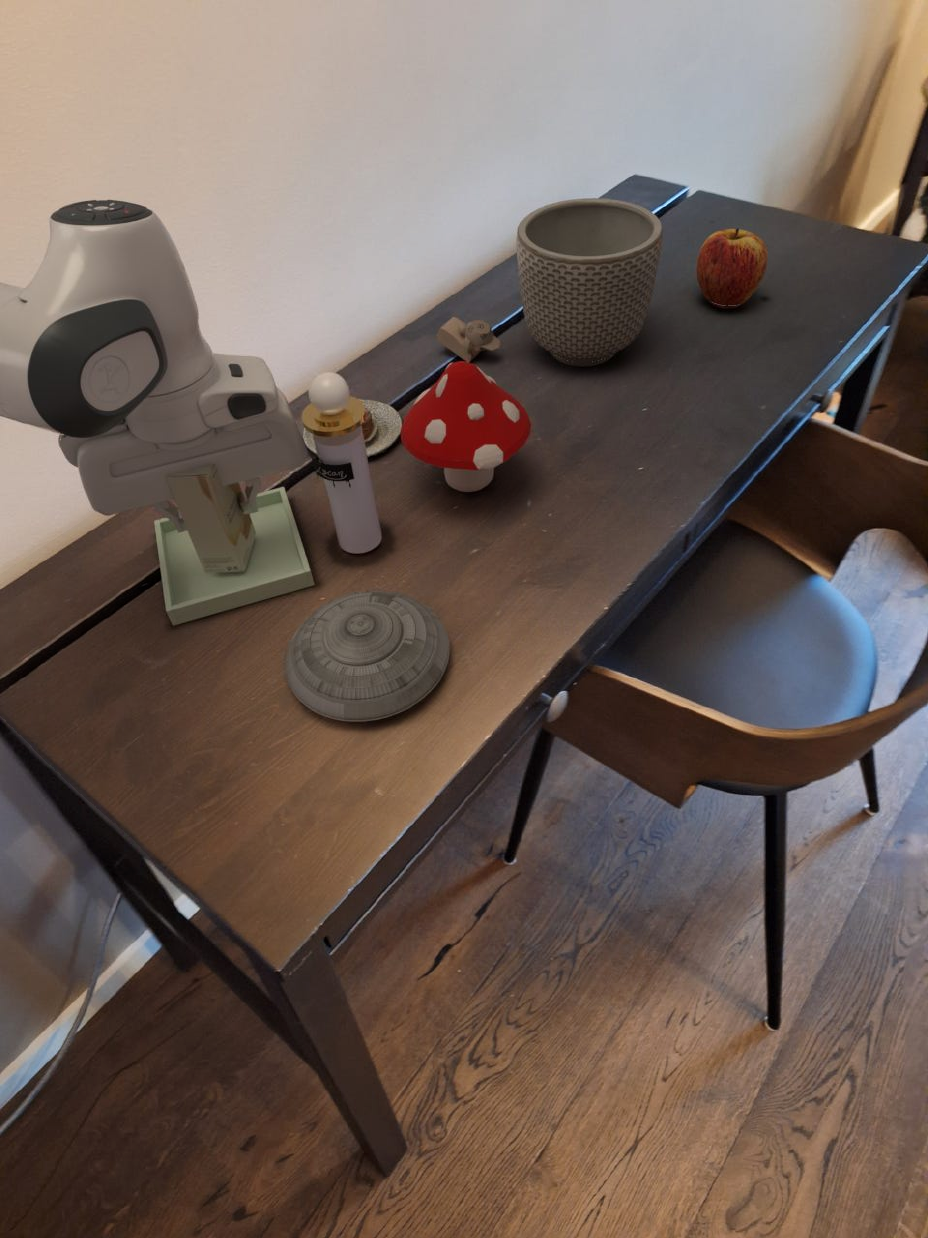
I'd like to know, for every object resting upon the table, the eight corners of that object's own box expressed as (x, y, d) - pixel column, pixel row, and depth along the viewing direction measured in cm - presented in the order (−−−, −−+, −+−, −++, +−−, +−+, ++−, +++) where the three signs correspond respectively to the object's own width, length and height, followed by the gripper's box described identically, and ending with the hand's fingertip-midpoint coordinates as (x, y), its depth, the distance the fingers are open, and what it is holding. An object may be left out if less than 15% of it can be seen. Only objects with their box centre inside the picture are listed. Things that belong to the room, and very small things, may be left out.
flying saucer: (367, 580, 82) (358, 540, 78) (484, 649, 75) (481, 609, 71) (254, 676, 74) (238, 637, 70) (372, 761, 67) (361, 724, 63)
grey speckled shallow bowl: (323, 404, 103) (315, 372, 100) (414, 410, 101) (409, 377, 98) (291, 462, 96) (282, 429, 92) (388, 470, 93) (383, 436, 90)
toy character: (479, 381, 108) (494, 348, 103) (431, 347, 109) (443, 312, 104) (495, 366, 110) (509, 333, 105) (448, 332, 111) (460, 298, 106)
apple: (679, 308, 113) (690, 236, 106) (706, 281, 118) (718, 210, 111) (742, 324, 110) (757, 250, 102) (767, 295, 114) (783, 222, 107)
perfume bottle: (349, 520, 88) (312, 353, 73) (397, 531, 86) (369, 362, 71) (324, 555, 84) (280, 387, 70) (373, 568, 83) (339, 398, 68)
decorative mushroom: (447, 432, 97) (435, 315, 86) (552, 460, 93) (555, 340, 81) (385, 503, 89) (364, 383, 78) (497, 538, 85) (492, 415, 73)
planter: (650, 319, 112) (664, 197, 100) (647, 389, 101) (662, 261, 89) (526, 315, 115) (525, 196, 103) (509, 383, 104) (506, 258, 92)
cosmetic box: (245, 573, 82) (209, 476, 73) (203, 574, 82) (162, 478, 73) (257, 530, 86) (225, 434, 77) (217, 531, 86) (180, 436, 77)
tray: (173, 625, 79) (166, 611, 78) (160, 535, 88) (153, 520, 87) (315, 585, 82) (310, 570, 80) (288, 500, 91) (283, 486, 89)
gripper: (49, 447, 67) (113, 567, 77) (293, 388, 70) (323, 511, 80) (49, 407, 71) (110, 526, 81) (280, 353, 74) (310, 474, 84)
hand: (218, 518), depth 81 cm, fingers closed on cosmetic box, 5 cm apart
